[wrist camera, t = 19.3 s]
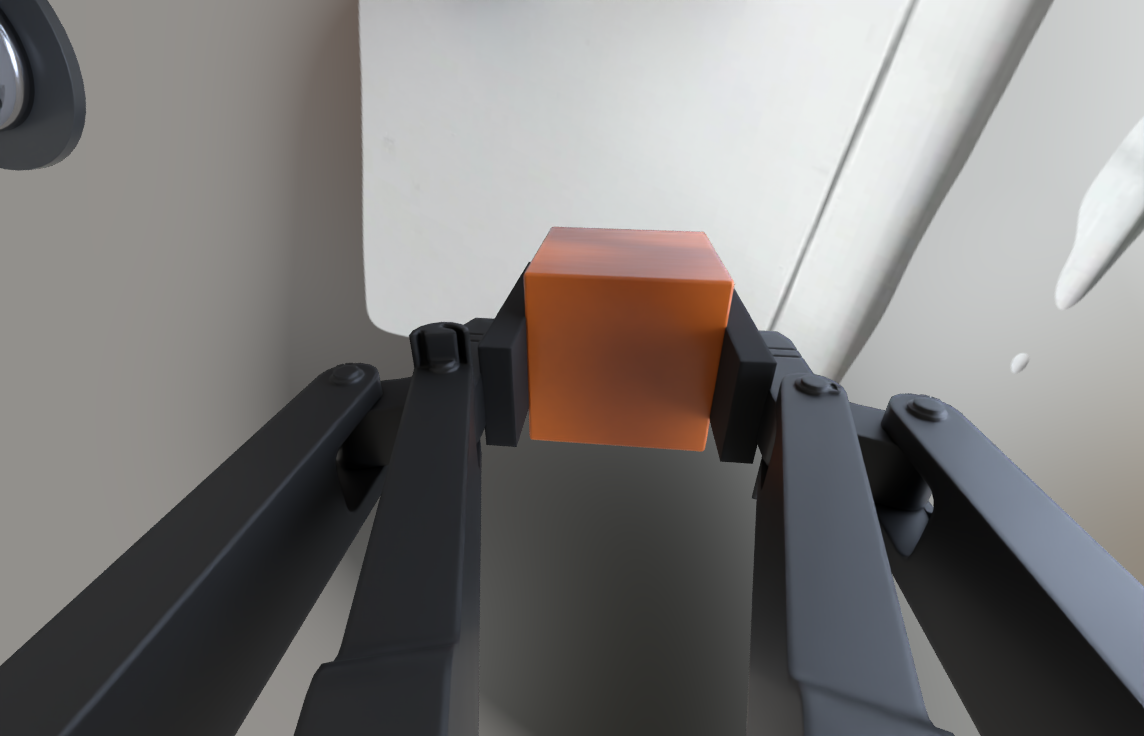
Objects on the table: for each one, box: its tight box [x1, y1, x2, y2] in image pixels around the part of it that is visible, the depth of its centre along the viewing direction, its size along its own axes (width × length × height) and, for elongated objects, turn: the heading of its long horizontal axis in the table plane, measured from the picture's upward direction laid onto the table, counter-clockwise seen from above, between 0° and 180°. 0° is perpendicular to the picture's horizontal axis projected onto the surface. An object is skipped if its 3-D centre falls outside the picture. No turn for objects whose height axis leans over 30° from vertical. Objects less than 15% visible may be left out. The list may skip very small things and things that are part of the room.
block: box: [524, 227, 734, 451], centre depth 15 cm, size 5×5×5 cm
